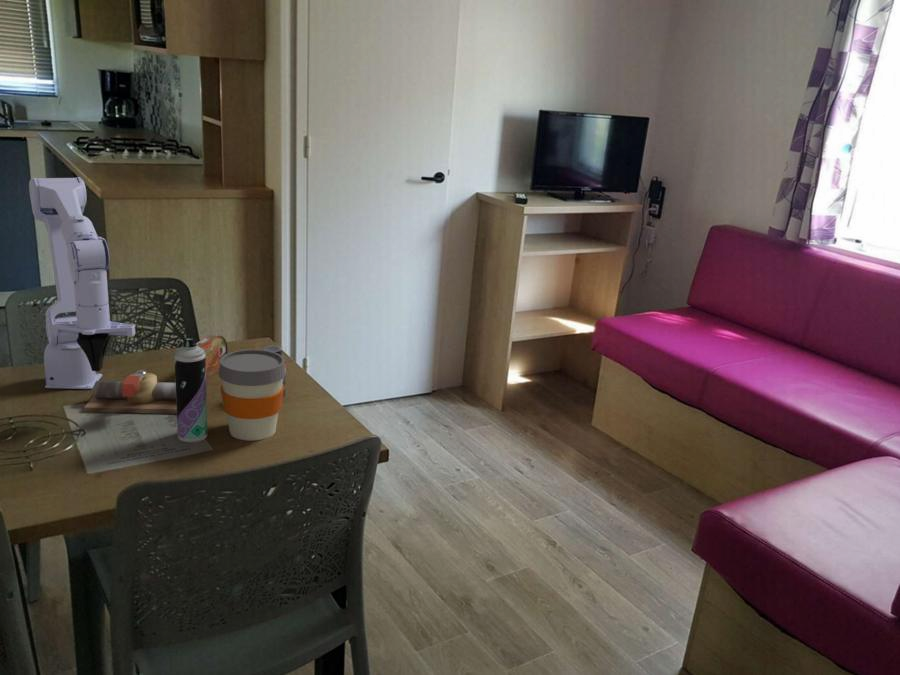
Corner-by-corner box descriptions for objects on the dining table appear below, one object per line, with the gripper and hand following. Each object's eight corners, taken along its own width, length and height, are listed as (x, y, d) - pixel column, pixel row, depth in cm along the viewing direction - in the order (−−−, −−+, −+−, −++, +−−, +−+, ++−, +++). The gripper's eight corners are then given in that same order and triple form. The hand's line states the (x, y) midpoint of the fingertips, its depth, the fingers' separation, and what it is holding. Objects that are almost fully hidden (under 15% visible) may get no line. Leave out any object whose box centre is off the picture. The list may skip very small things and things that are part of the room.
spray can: (180, 444, 144) (176, 345, 138) (175, 432, 149) (171, 335, 142) (210, 440, 147) (207, 342, 140) (204, 428, 151) (201, 333, 145)
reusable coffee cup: (211, 423, 153) (209, 354, 148) (270, 412, 160) (270, 345, 155) (233, 450, 144) (232, 376, 139) (295, 436, 151) (296, 366, 146)
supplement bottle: (252, 397, 167) (251, 348, 163) (269, 388, 172) (269, 341, 168) (273, 404, 164) (273, 355, 161) (291, 395, 170) (291, 347, 166)
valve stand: (84, 411, 154) (82, 386, 152) (99, 392, 163) (98, 367, 161) (187, 413, 157) (186, 388, 155) (196, 394, 166) (195, 370, 164)
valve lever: (137, 376, 159) (136, 364, 158) (148, 376, 159) (147, 364, 158) (122, 396, 149) (121, 384, 148) (134, 396, 149) (133, 384, 149)
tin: (194, 386, 170) (193, 351, 167) (182, 384, 171) (180, 349, 168) (229, 364, 184) (228, 331, 181) (217, 362, 185) (216, 329, 182)
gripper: (43, 307, 140) (50, 376, 144) (126, 310, 142) (130, 378, 146) (57, 296, 146) (63, 362, 151) (136, 299, 148) (140, 364, 153)
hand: (97, 369), depth 149 cm, fingers closed
